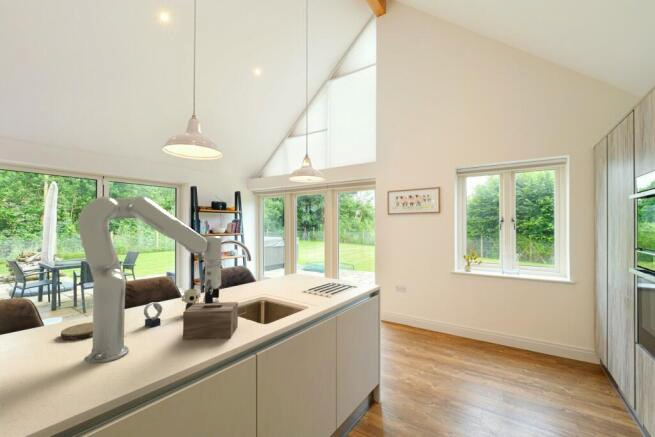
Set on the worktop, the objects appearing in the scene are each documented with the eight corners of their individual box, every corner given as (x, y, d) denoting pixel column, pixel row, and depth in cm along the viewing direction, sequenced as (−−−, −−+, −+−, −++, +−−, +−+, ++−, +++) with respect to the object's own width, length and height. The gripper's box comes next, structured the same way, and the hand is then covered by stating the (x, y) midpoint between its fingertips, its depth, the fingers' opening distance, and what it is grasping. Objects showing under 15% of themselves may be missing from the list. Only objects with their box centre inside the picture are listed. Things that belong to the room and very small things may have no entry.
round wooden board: (53, 337, 127) (54, 330, 127) (96, 326, 141) (96, 319, 141) (71, 344, 120) (71, 337, 120) (113, 331, 134) (113, 325, 134)
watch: (164, 323, 144) (164, 301, 144) (147, 328, 137) (148, 305, 137) (157, 321, 147) (157, 300, 147) (141, 326, 140) (141, 303, 140)
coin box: (230, 338, 126) (230, 310, 126) (182, 339, 124) (183, 311, 124) (237, 326, 140) (237, 301, 140) (194, 328, 138) (195, 302, 138)
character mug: (185, 317, 153) (185, 293, 154) (177, 315, 157) (178, 291, 157) (203, 312, 163) (204, 289, 163) (196, 310, 166) (196, 287, 167)
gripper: (215, 265, 124) (215, 305, 124) (225, 260, 142) (225, 295, 141) (197, 265, 124) (197, 306, 123) (210, 260, 141) (209, 295, 141)
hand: (212, 300), depth 132 cm, fingers open, 9 cm apart
